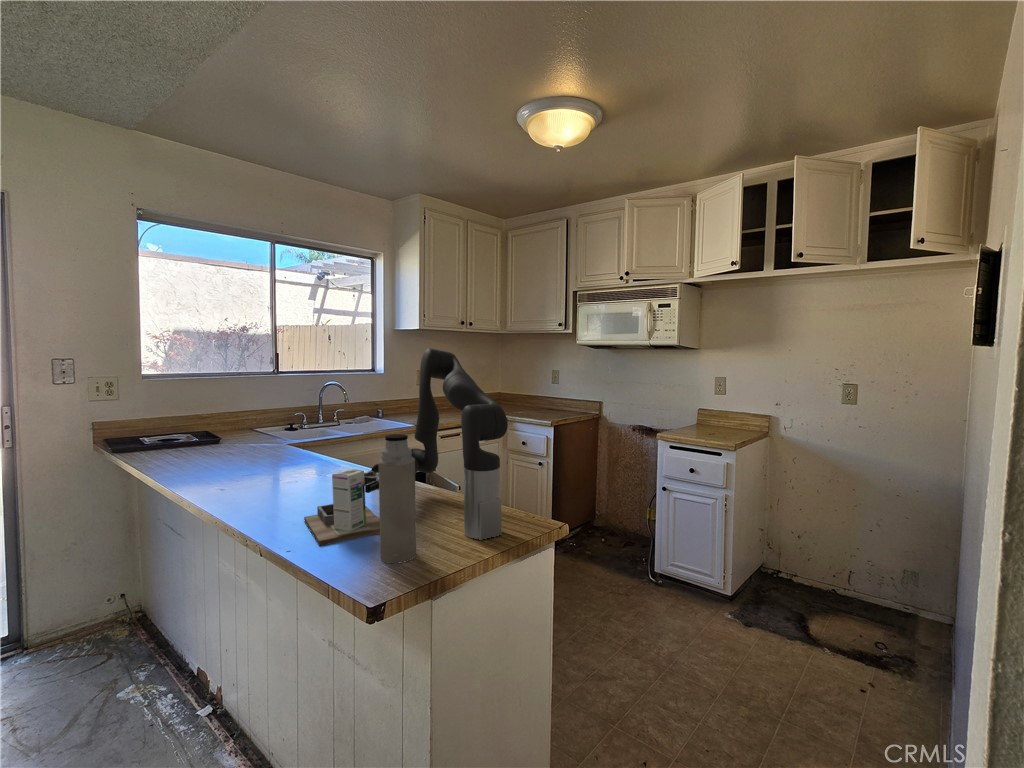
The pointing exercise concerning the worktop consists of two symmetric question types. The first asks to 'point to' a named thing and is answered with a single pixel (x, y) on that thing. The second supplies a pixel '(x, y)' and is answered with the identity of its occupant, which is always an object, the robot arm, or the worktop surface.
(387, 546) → the thermos bottle
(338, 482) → the syrup box
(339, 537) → the board
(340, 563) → the worktop surface
